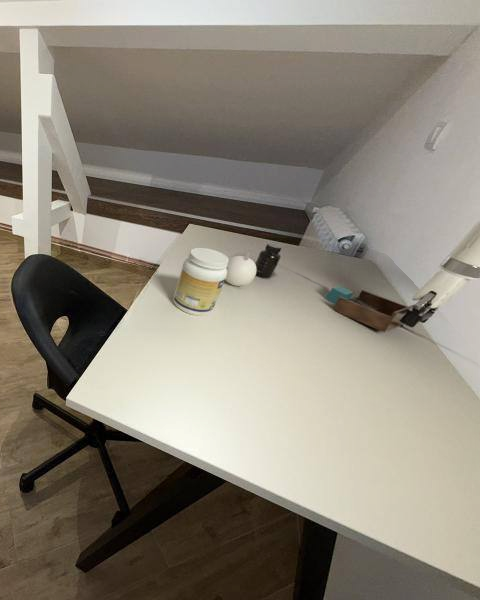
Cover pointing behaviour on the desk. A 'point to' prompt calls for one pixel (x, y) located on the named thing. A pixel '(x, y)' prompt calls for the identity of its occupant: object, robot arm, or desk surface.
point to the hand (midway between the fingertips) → (412, 321)
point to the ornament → (240, 270)
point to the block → (338, 294)
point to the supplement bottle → (268, 260)
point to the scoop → (375, 311)
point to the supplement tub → (200, 281)
